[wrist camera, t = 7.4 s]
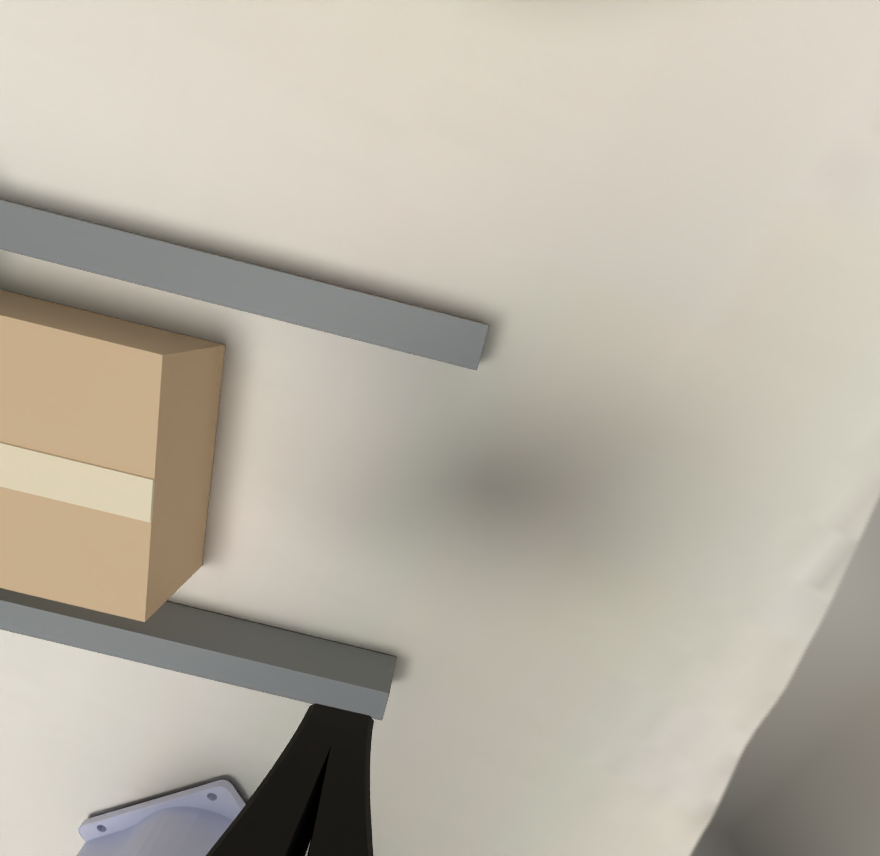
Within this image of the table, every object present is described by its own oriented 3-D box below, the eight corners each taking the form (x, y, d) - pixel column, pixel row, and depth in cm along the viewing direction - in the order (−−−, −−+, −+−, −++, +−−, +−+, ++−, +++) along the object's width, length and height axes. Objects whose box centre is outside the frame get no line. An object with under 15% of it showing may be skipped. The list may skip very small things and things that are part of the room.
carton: (229, 344, 17) (160, 355, 13) (206, 561, 20) (143, 623, 16) (3, 288, 17) (-133, 283, 13) (11, 514, 20) (-101, 565, 16)
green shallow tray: (485, 323, 16) (493, 328, 12) (389, 682, 21) (372, 767, 17) (-64, 182, 16) (-233, 142, 12) (-40, 578, 20) (-157, 641, 17)
